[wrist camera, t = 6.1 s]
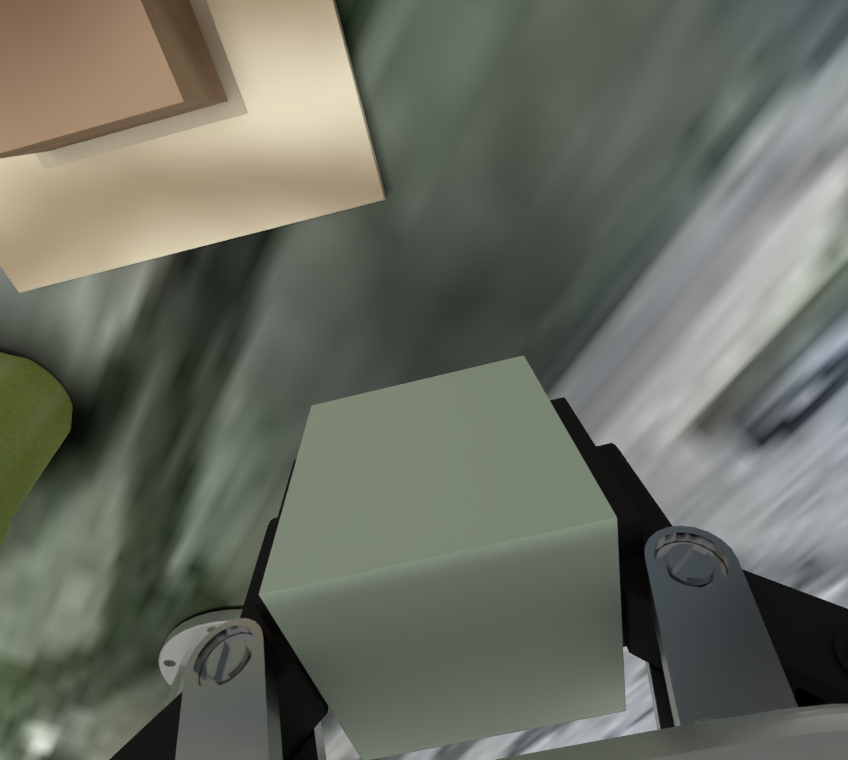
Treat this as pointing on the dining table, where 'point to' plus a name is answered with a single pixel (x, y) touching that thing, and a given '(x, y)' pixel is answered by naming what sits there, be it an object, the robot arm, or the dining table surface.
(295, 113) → the plate
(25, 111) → the walnut base block
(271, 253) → the dining table surface
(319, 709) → the robot arm
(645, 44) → the dining table surface
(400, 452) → the sage cube
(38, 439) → the plant pot
